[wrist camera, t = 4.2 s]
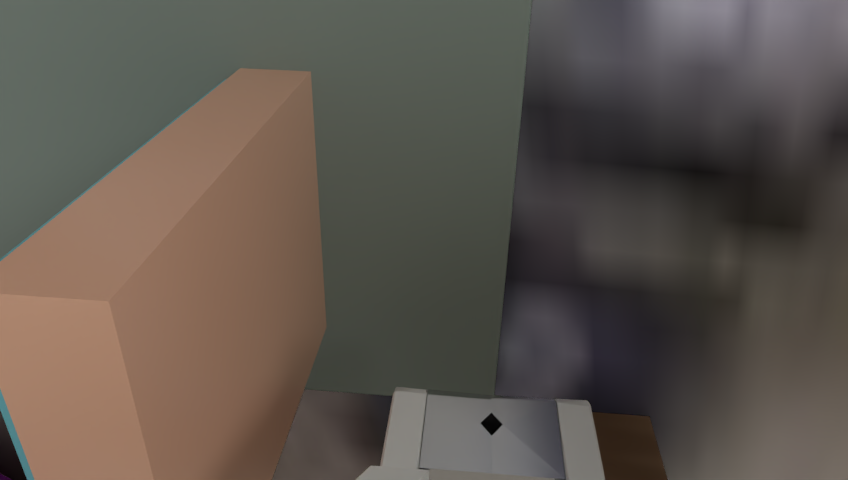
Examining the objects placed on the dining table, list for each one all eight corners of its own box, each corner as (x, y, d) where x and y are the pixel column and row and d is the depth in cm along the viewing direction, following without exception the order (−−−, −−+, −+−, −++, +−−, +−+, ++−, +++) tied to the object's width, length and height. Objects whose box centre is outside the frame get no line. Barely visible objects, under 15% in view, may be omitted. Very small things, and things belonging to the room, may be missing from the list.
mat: (533, -37, 14) (535, -33, 13) (493, 389, 20) (493, 404, 19) (-271, -64, 15) (-298, -62, 15) (-89, 345, 21) (-104, 357, 20)
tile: (310, 71, 15) (108, 301, 7) (326, 326, 18) (202, 673, 10) (227, 67, 15) (-63, 289, 7) (258, 322, 18) (85, 660, 11)
